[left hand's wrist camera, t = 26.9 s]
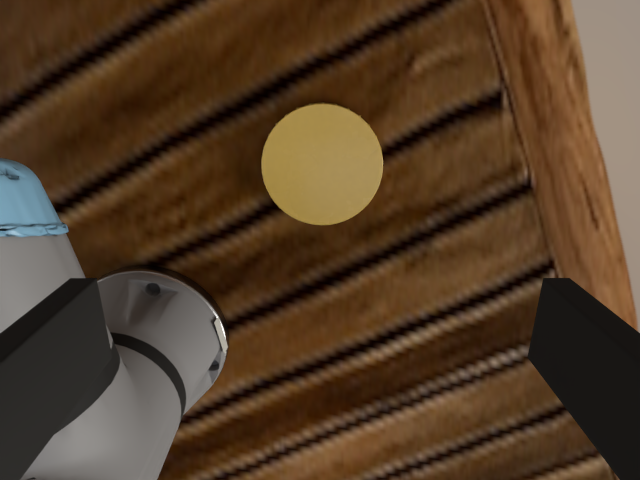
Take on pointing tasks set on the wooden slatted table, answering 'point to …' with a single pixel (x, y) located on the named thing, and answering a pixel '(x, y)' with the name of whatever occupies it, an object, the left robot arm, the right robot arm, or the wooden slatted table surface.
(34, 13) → the wooden slatted table surface
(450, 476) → the wooden slatted table surface
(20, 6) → the wooden slatted table surface
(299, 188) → the lid
